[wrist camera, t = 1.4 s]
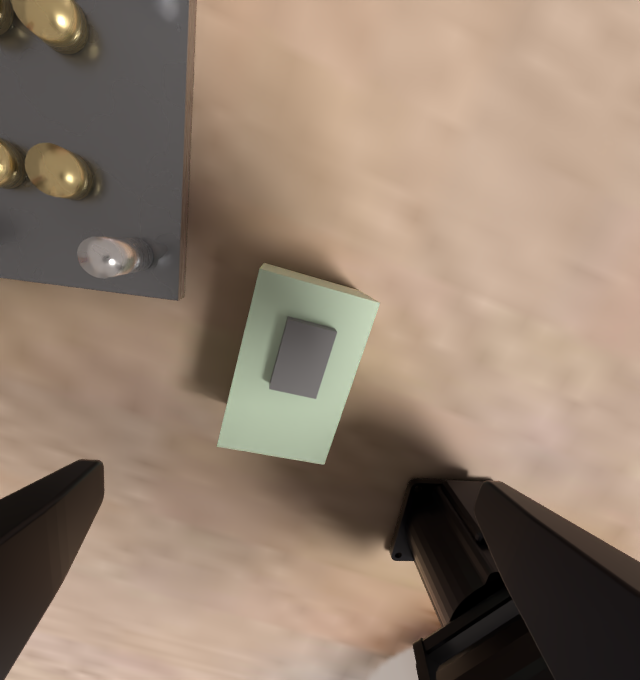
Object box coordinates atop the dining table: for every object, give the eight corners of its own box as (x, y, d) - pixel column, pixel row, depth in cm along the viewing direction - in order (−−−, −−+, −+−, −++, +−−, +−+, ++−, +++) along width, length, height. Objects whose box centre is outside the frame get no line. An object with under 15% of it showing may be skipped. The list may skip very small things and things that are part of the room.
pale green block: (315, 420, 19) (325, 473, 14) (229, 403, 18) (213, 455, 13) (357, 289, 17) (384, 305, 12) (264, 262, 16) (258, 269, 11)
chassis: (184, 297, 16) (154, 314, 12) (-82, 262, 14) (-218, 269, 10) (199, -75, 12) (162, -226, 8) (-165, -191, 10) (-436, -454, 6)
